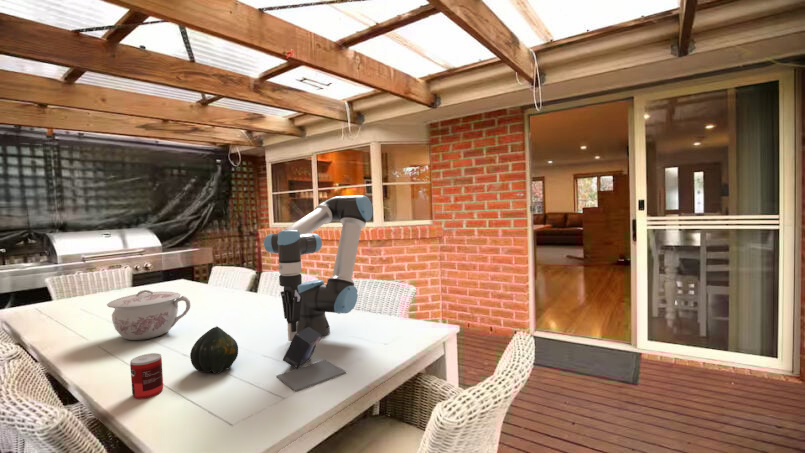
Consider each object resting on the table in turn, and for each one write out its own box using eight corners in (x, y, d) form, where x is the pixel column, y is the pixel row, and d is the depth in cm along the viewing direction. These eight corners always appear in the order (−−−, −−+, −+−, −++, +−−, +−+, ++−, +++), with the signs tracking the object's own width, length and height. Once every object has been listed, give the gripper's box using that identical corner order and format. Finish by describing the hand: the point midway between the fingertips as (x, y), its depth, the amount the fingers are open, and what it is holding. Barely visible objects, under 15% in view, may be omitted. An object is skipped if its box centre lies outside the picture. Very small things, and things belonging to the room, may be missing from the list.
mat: (276, 376, 122) (276, 375, 122) (325, 360, 134) (325, 359, 134) (295, 391, 112) (295, 390, 112) (346, 373, 123) (346, 371, 123)
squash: (198, 369, 117) (225, 324, 125) (173, 361, 125) (200, 320, 133) (231, 384, 126) (254, 342, 134) (206, 376, 134) (229, 337, 142)
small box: (297, 370, 125) (309, 343, 125) (281, 360, 127) (293, 333, 126) (311, 359, 136) (323, 334, 135) (296, 350, 137) (308, 325, 136)
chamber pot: (94, 342, 161) (91, 295, 160) (157, 323, 186) (154, 282, 185) (137, 349, 150) (133, 299, 149) (197, 328, 176) (194, 285, 175)
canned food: (142, 388, 117) (139, 353, 116) (168, 386, 118) (166, 352, 117) (126, 400, 109) (123, 363, 109) (154, 398, 110) (152, 362, 109)
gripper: (272, 273, 133) (275, 338, 134) (287, 277, 123) (290, 347, 124) (292, 270, 138) (294, 333, 139) (308, 274, 128) (311, 342, 129)
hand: (292, 339), depth 132 cm, fingers closed
